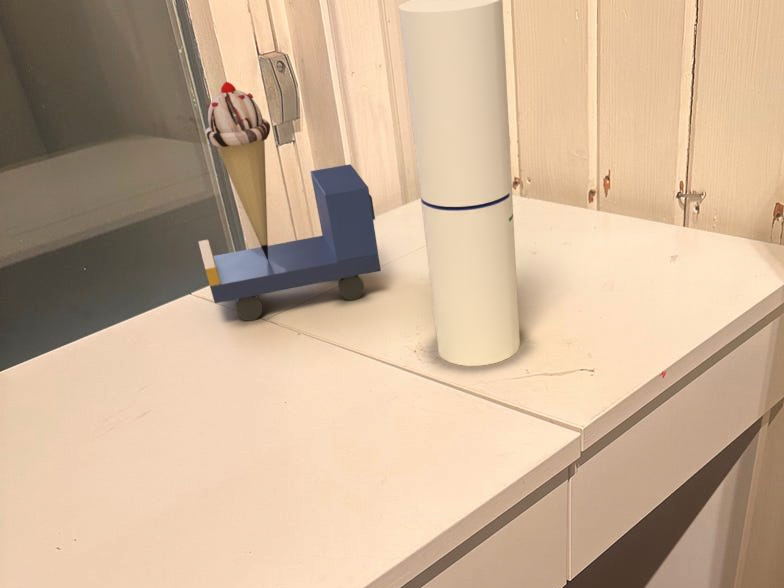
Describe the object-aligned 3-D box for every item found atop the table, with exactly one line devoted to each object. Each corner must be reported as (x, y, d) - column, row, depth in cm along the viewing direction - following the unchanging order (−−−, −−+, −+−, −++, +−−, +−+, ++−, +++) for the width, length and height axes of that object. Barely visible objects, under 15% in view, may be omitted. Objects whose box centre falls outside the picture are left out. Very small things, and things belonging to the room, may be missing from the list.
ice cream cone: (307, 250, 89) (272, 73, 79) (280, 273, 85) (238, 90, 75) (256, 247, 91) (215, 73, 80) (227, 269, 87) (179, 90, 76)
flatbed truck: (221, 328, 87) (191, 218, 80) (214, 297, 92) (184, 192, 86) (387, 295, 89) (371, 186, 83) (369, 267, 95) (353, 163, 88)
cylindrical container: (421, 355, 79) (377, 10, 62) (469, 323, 83) (439, -9, 66) (489, 372, 76) (462, 13, 59) (535, 338, 80) (522, -8, 63)
